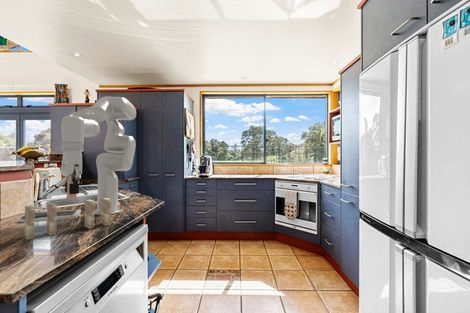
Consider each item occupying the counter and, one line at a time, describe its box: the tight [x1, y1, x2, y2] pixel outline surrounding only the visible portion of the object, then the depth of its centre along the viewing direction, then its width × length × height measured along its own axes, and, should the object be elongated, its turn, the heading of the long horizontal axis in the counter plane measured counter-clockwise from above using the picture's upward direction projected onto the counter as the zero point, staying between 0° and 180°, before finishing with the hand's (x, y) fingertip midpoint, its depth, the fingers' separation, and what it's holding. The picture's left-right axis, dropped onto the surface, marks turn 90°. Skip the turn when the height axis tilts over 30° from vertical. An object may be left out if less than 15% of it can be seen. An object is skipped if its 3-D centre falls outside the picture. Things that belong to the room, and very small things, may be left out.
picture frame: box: [19, 209, 82, 223], centre depth 120 cm, size 16×3×21 cm
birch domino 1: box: [24, 205, 36, 240], centre depth 89 cm, size 2×5×11 cm, turn 48°
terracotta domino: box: [66, 174, 78, 201], centre depth 98 cm, size 2×5×11 cm, turn 49°
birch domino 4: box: [100, 198, 112, 226], centre depth 108 cm, size 2×5×11 cm, turn 48°
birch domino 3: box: [84, 199, 96, 229], centre depth 103 cm, size 2×5×11 cm, turn 48°
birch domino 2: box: [46, 202, 58, 236], centre depth 94 cm, size 2×5×11 cm, turn 49°
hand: (71, 192), depth 98 cm, fingers closed on terracotta domino, 4 cm apart
